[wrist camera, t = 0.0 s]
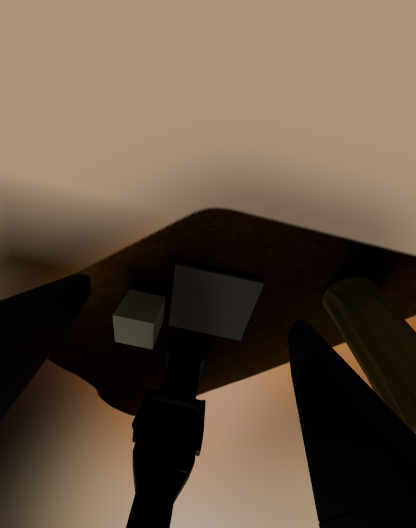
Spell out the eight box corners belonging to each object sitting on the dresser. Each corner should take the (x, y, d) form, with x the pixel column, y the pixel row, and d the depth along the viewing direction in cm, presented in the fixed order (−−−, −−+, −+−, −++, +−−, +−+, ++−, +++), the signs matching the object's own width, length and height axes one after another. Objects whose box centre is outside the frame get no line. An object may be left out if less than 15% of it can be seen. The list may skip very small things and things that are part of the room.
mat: (240, 337, 31) (240, 340, 31) (169, 322, 31) (168, 325, 31) (263, 281, 25) (263, 283, 25) (176, 262, 25) (175, 264, 25)
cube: (163, 320, 31) (152, 349, 27) (131, 314, 31) (115, 341, 27) (165, 296, 29) (153, 323, 24) (130, 288, 29) (112, 315, 24)
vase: (333, 320, 27) (410, 463, 15) (312, 290, 25) (384, 429, 13) (384, 301, 25) (523, 454, 13) (366, 266, 23) (514, 410, 11)
